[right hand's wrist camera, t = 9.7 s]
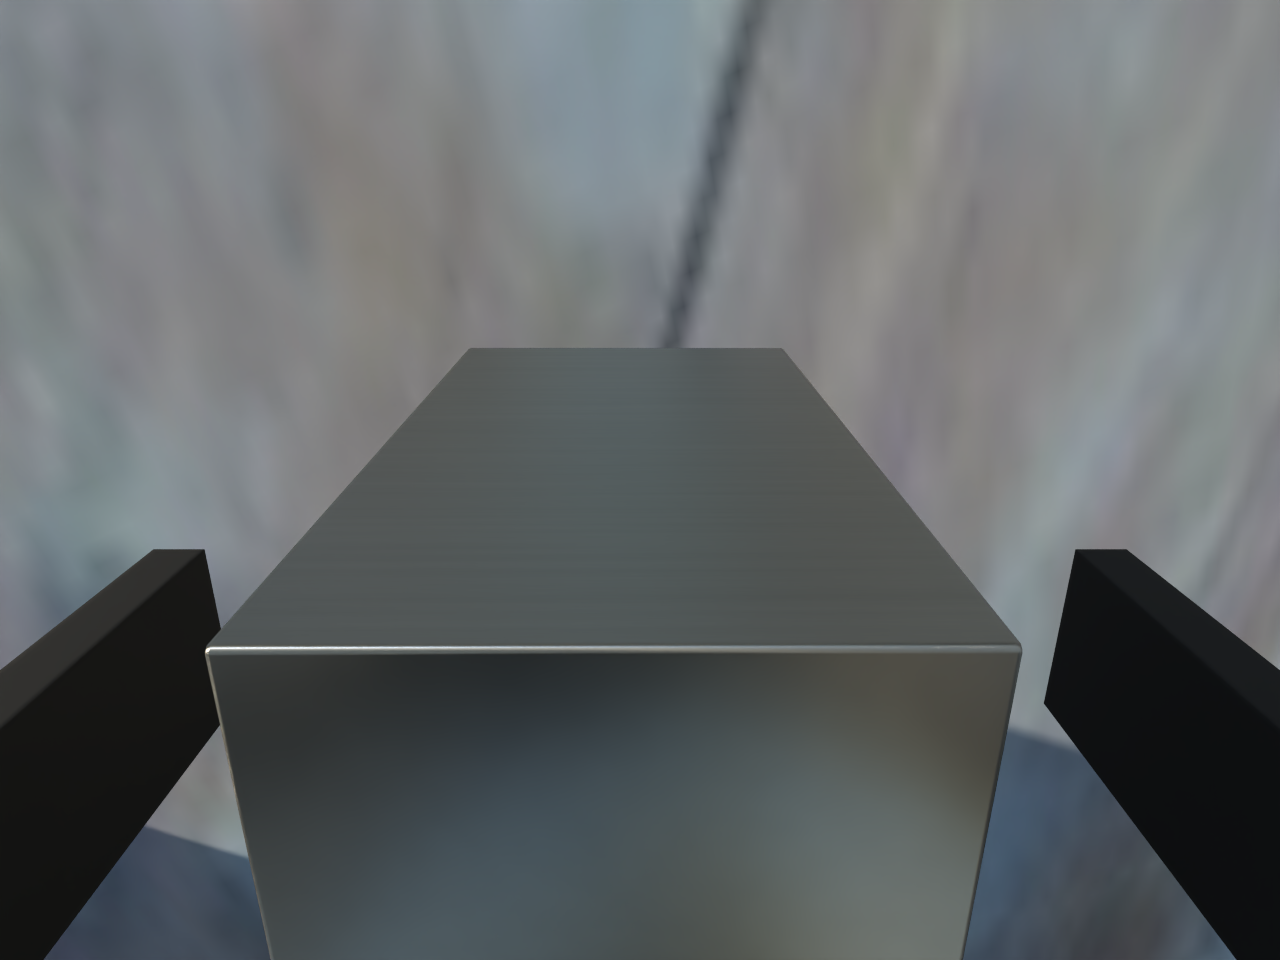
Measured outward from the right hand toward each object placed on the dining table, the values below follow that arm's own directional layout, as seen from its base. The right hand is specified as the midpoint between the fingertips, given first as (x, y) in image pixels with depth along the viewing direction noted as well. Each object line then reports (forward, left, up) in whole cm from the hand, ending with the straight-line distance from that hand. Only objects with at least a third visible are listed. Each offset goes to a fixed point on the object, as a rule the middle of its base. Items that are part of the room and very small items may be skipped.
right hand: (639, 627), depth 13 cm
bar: (+2, +8, -3) cm, 9 cm away
